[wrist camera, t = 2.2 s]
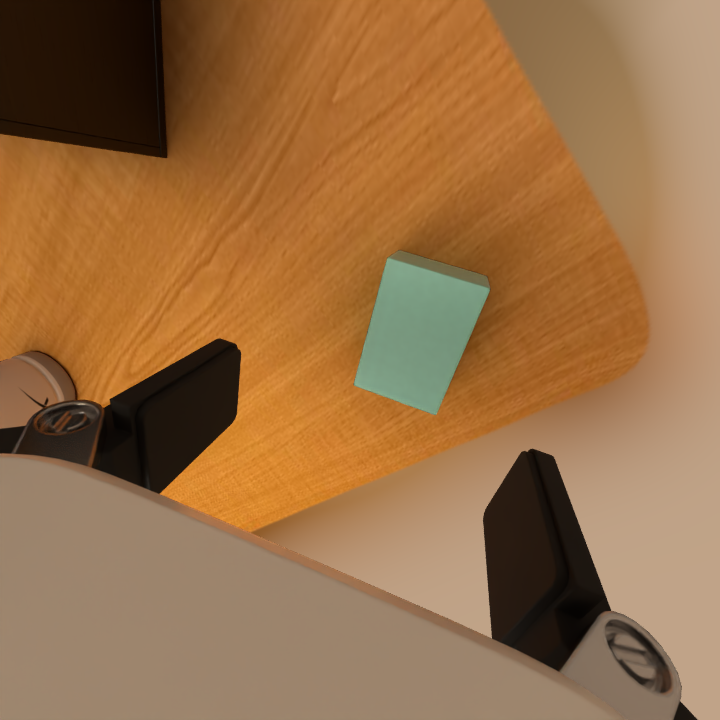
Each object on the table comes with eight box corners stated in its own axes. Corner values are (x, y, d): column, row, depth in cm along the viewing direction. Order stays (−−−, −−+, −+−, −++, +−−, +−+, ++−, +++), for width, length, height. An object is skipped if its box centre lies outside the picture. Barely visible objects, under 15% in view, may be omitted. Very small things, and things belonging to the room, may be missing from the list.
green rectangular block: (487, 275, 18) (491, 288, 15) (439, 389, 21) (436, 416, 19) (398, 249, 19) (387, 257, 16) (366, 364, 22) (352, 385, 19)
